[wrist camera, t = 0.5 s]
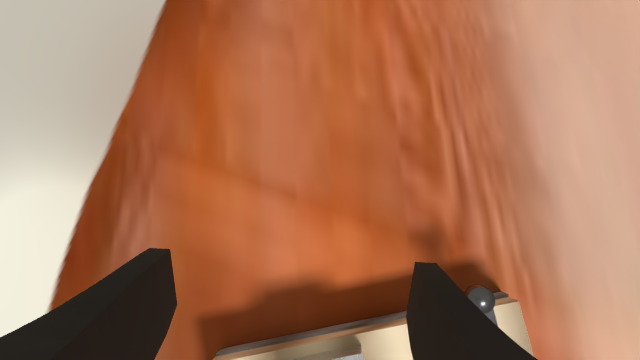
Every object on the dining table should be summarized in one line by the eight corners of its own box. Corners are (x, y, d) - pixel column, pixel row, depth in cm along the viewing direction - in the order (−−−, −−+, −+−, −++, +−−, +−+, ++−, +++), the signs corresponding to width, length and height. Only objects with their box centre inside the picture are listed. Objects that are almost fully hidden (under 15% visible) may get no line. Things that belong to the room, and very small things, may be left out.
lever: (507, 411, 32) (535, 445, 27) (484, 415, 32) (508, 450, 27) (472, 276, 33) (493, 285, 28) (450, 281, 33) (467, 290, 28)
